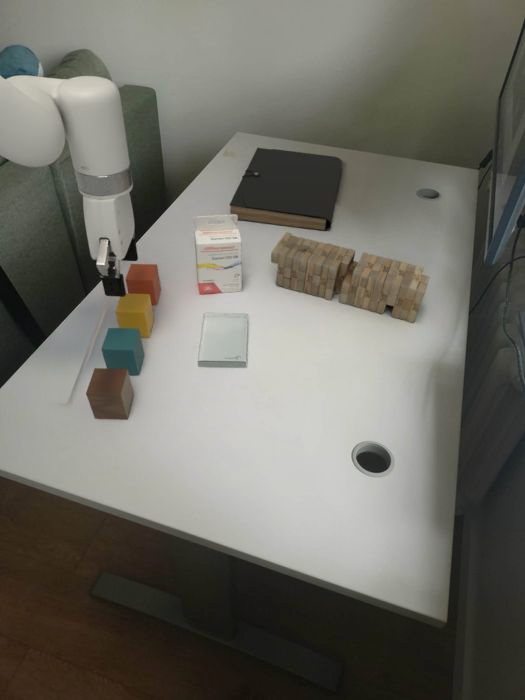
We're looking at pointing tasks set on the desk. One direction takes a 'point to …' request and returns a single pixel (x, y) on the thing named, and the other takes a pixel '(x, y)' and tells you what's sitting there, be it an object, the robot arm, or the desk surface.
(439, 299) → the desk surface
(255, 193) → the black book
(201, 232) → the ink cartridge box
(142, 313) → the yellow block
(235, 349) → the hard drive
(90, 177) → the robot arm
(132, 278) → the terracotta block
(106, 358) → the teal block
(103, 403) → the walnut block
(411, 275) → the block tower
